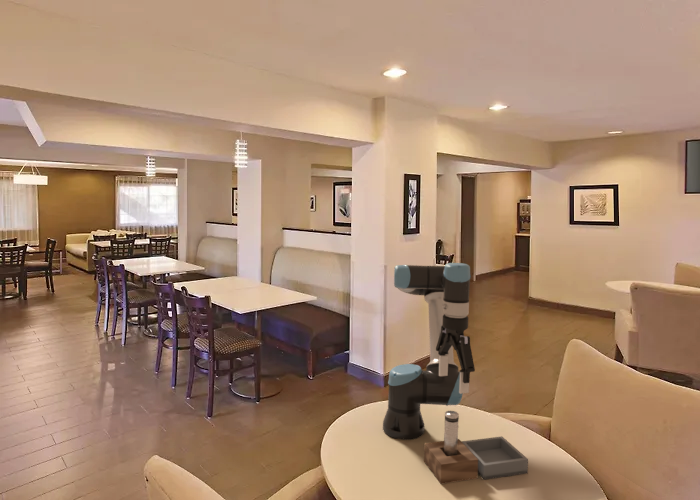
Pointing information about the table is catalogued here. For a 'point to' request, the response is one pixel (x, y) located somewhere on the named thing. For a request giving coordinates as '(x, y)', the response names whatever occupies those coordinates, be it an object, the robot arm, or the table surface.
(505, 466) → the tray
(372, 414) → the table surface
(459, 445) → the wooden square socket block
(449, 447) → the pin
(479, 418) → the table surface
